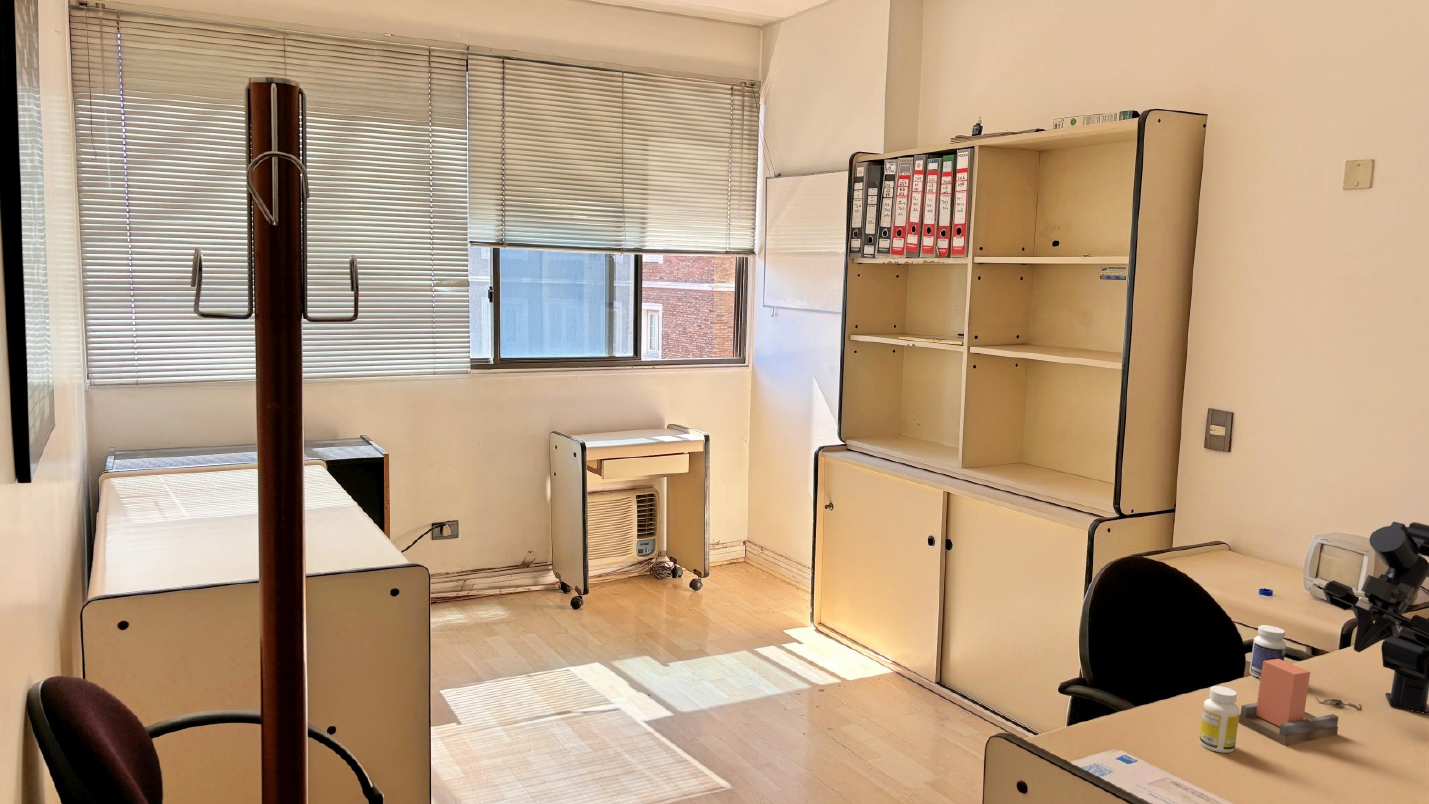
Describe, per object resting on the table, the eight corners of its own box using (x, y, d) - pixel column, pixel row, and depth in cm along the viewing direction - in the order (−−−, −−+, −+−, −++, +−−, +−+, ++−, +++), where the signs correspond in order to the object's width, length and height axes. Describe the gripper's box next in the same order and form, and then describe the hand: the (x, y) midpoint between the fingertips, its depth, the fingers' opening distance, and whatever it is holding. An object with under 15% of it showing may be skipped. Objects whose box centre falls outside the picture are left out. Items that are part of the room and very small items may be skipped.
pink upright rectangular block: (1271, 712, 181) (1278, 658, 179) (1302, 726, 175) (1310, 671, 174) (1255, 715, 179) (1263, 661, 178) (1286, 729, 174) (1294, 674, 172)
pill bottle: (1285, 684, 199) (1292, 635, 198) (1254, 680, 200) (1260, 631, 199) (1275, 673, 205) (1282, 625, 204) (1245, 669, 206) (1251, 622, 205)
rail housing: (1289, 713, 185) (1292, 695, 185) (1336, 734, 177) (1339, 716, 177) (1238, 722, 180) (1240, 703, 179) (1284, 745, 172) (1287, 726, 171)
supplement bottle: (1231, 742, 172) (1239, 687, 170) (1236, 756, 166) (1244, 700, 165) (1196, 736, 173) (1204, 681, 172) (1200, 749, 168) (1208, 693, 167)
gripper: (1340, 540, 188) (1295, 607, 186) (1452, 583, 174) (1405, 656, 171) (1350, 569, 195) (1307, 634, 193) (1460, 613, 180) (1414, 683, 178)
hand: (1356, 650), depth 183 cm, fingers closed
